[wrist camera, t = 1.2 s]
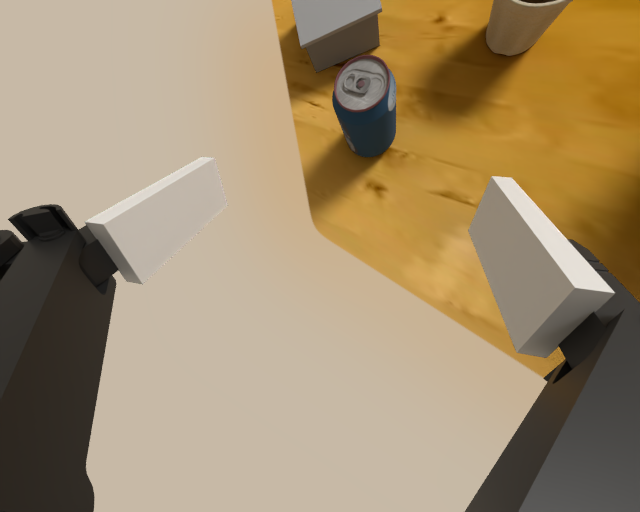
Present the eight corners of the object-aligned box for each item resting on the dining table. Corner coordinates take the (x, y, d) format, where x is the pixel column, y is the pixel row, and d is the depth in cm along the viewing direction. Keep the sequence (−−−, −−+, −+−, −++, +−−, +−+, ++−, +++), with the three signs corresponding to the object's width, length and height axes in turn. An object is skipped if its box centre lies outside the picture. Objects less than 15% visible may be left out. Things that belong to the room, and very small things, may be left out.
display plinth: (368, -21, 38) (363, -71, 32) (383, 47, 37) (381, 7, 31) (301, 14, 41) (286, -27, 35) (313, 76, 40) (300, 46, 34)
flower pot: (511, 84, 32) (551, 24, 24) (454, 44, 34) (474, -25, 26) (576, 21, 31) (644, -69, 22) (513, -18, 32) (553, -113, 24)
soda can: (404, 122, 36) (409, 57, 24) (381, 167, 37) (376, 125, 25) (360, 107, 38) (346, 41, 26) (340, 151, 39) (317, 105, 27)
